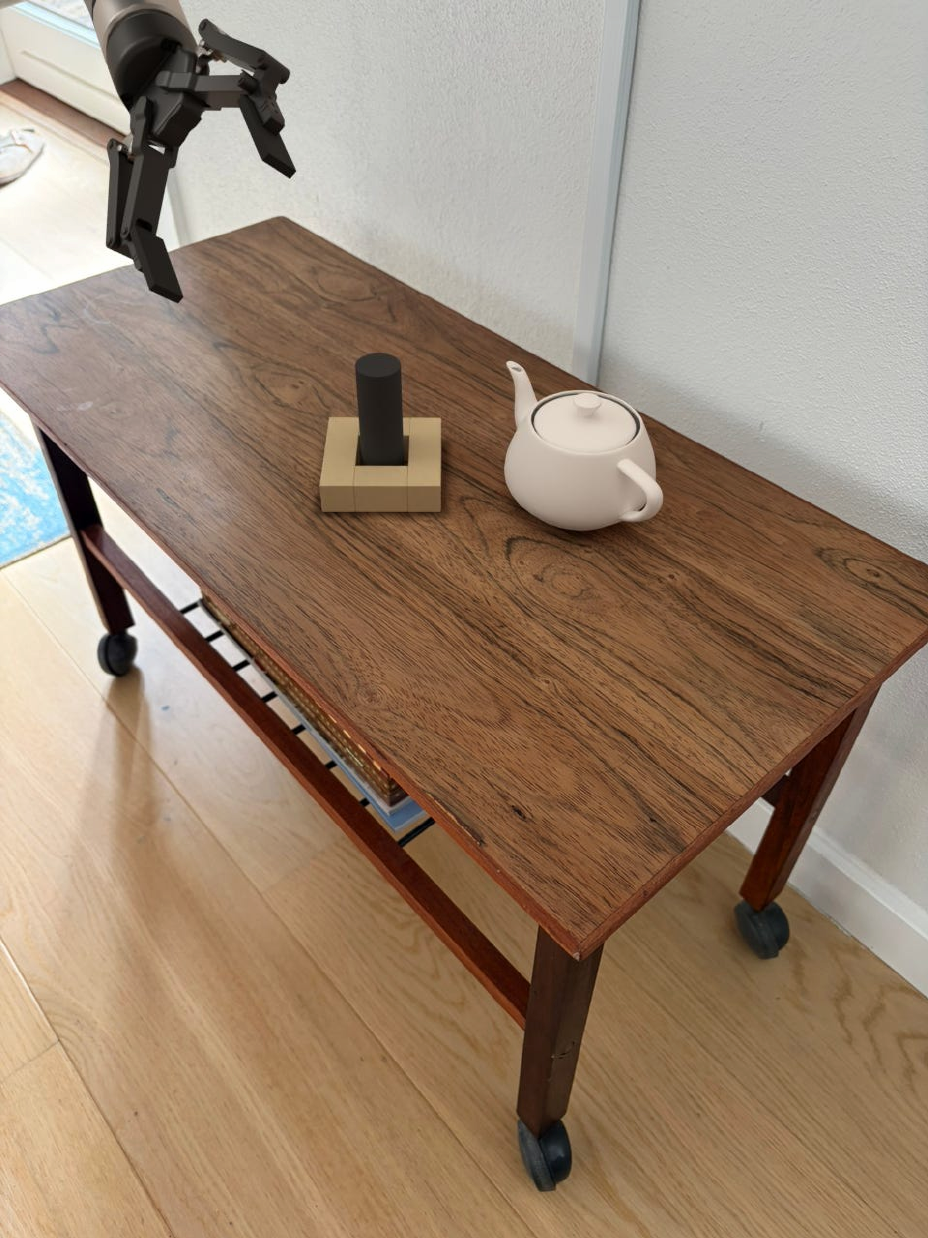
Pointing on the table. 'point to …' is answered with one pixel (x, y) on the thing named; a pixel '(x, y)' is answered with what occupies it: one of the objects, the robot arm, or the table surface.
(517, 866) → the table surface
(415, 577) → the table surface
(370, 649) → the table surface
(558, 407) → the teapot
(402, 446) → the black cylinder peg
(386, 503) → the base pad
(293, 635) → the table surface
